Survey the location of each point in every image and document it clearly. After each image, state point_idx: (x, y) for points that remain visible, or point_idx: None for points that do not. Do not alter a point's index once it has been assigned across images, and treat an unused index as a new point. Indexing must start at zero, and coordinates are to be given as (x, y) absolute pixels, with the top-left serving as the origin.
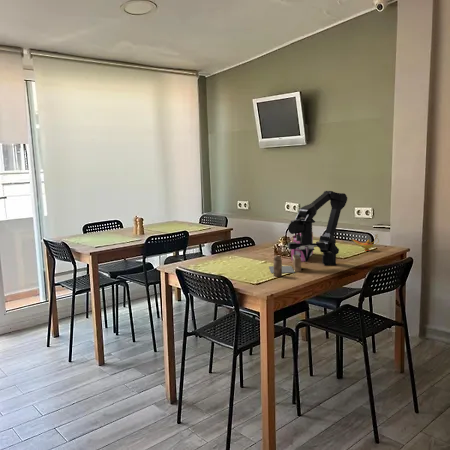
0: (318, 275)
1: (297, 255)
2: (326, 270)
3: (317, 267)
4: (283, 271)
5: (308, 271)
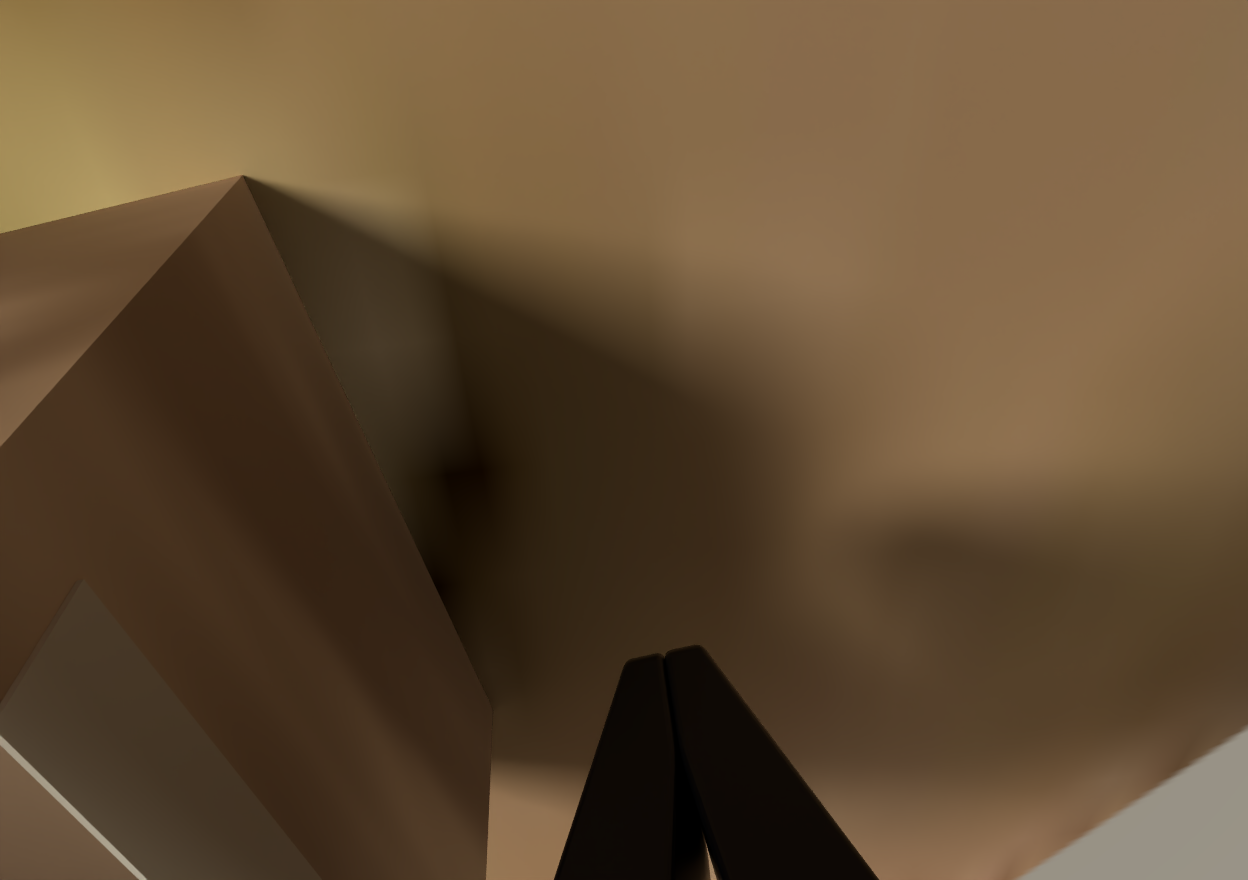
0: (901, 861)
1: (10, 877)
2: (1239, 489)
3: (1078, 107)
4: None
5: None
